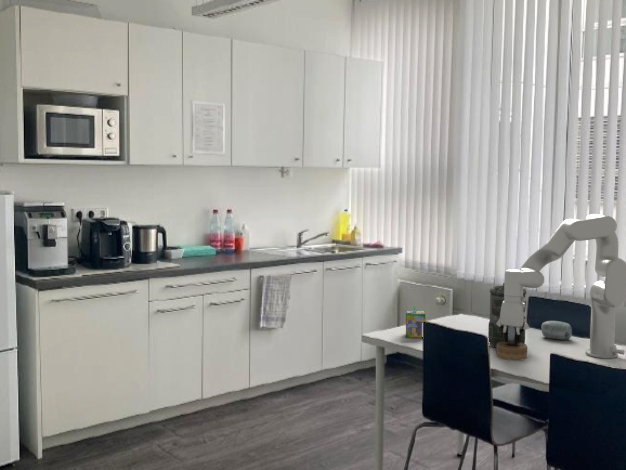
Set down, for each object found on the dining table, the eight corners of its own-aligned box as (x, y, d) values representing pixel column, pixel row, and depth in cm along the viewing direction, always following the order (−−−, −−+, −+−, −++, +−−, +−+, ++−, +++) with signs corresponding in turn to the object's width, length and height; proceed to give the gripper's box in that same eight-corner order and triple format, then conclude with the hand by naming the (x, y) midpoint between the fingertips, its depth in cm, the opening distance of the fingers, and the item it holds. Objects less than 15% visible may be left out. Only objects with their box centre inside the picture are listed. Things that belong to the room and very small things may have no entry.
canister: (481, 343, 318) (482, 281, 316) (510, 340, 324) (512, 279, 321) (502, 351, 304) (503, 287, 301) (532, 348, 309) (534, 285, 307)
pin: (518, 352, 296) (519, 320, 295) (514, 354, 293) (515, 321, 291) (509, 351, 298) (510, 318, 297) (505, 353, 295) (506, 320, 294)
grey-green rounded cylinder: (577, 331, 327) (569, 314, 324) (572, 344, 321) (564, 326, 318) (548, 334, 336) (541, 317, 333) (543, 346, 329) (536, 329, 326)
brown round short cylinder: (530, 355, 297) (531, 344, 296) (520, 361, 287) (520, 349, 287) (503, 351, 304) (504, 339, 304) (492, 357, 295) (492, 345, 294)
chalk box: (425, 338, 327) (425, 307, 325) (405, 337, 328) (405, 306, 327) (425, 334, 336) (425, 303, 334) (405, 333, 337) (406, 302, 336)
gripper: (536, 300, 291) (535, 343, 293) (498, 295, 302) (496, 337, 303) (529, 302, 285) (528, 347, 287) (490, 298, 296) (489, 341, 297)
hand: (512, 341), depth 295 cm, fingers closed on pin, 4 cm apart
